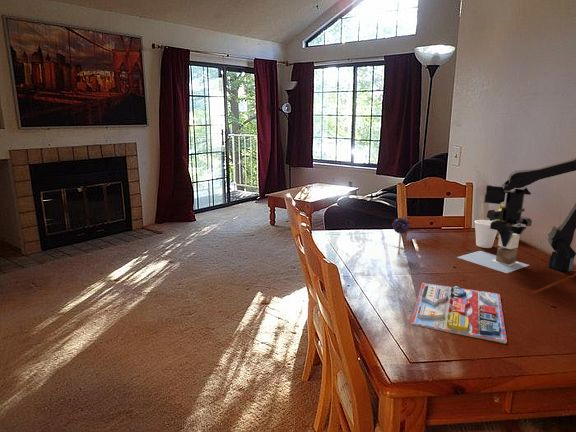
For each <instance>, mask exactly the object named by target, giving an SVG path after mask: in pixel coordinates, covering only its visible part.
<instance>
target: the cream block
mask: <svg viewBox="0 0 576 432" xmlns="http://www.w3.org/2000/svg"><path fill="white" fill-rule="evenodd" d="M520 236H521V235H520V234H516V233H513V234H512V236H511V238H510V240H509V242H508V244H507V246H506V247H504V248H508V249H517V248H519V242H520ZM497 247H499V248H500V247H503V245H502V240H501V236H500V234H499V238H498V242H497Z"/></svg>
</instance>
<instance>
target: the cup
mask: <svg viewBox="0 0 576 432" xmlns="http://www.w3.org/2000/svg"><path fill="white" fill-rule="evenodd" d="M493 221H494V220H492V221H490V220H489V219H476V220H474V229H475V245H476V246H477V247H479V248H483V249H491V248H492V247H493V245H494V242H495V239H496V238H497V237H496V234H497V230H494V229H490V224H491V223H492V222H493Z"/></svg>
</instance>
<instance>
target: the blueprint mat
mask: <svg viewBox="0 0 576 432" xmlns="http://www.w3.org/2000/svg"><path fill="white" fill-rule="evenodd" d="M496 255H497V254H494V253H493V254H492V253H490V252H487V251H486V252H485V251H482V250H477V251H474V252H471V253H467V254H463V255H460V256H457V257H456V258H458V259H460V260H464V261H467V262H469V263H472V264H477V265H480V266H483V267H486V268H489V269H492V270H495V271H498V272H502V273H505V274H509V273H512V272H514V271H517V270H520V269H522V268H526V267H528V266H530V264H527V263H524V262H520V261H517V260H516V262H515V263H512V264H509V265H508V264H505V263H502V262H498V261H496Z"/></svg>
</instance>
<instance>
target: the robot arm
mask: <svg viewBox="0 0 576 432" xmlns="http://www.w3.org/2000/svg"><path fill="white" fill-rule="evenodd" d="M575 171H576V157H573V158H571V159H569V160H565V161H561V162H558V163H553V164H549V165H546V166H542V167H538V168H535V169H534V168H533V169H520V170H514V171H512V172H510V174H509V175H508V179H507V180H506V181H504V183H503V184H502V185H492V184H486V188H485V191H484V196H483V203H484V204H495V205H496V204H497V205H501V204H502V203H504V202H505V205H504V206H505V207H503V208H502V210H501V211H498V210H497V211H496V210H494V209H490V210H489V209H488V211H487V213H486V218H488V220H490V221H493V222H492V223H491V224H490V229H494V230H497V231H498V232H499V233H500V236H501V240H502V245H503V247H506V246H507V244H508V242H509V240H510V238H511V236H512V234H513V233H516V234H520V236H522V234H523V232H524V231H525V230H526V229H527V227H532V223H533V221H532V219H531V218H530V217H526V216H522V215H523V214H522V213H524V212H525V208H523V207H524V200H525V195H529V196H530V195H532V192H530V191H529V189H528V187H527V186H529V185H532V184H534V183H535V182H537V181H539V180H544V179H547V178H551V177H556V176H559V175H563V174H567V173H572V172H575ZM496 219H499V220H500V221H499V220H498V221H496ZM524 225H525V226H524ZM575 231H576V202H575V204H574V205H573V206H572V208H571V210H570V211H569V213H568V215H567V216H566V217H565V219H564V220H563V222H562V223H561V224H560V225H559V226H558V227H557V226H555V225H553V226H552V229H551V231H550V232H549V233H547V236H548V239H547V241H548V244H549V245H550V247H551V248H552V249H553V251H552V252H551V255H550V256H549V260H548V265H547V266H548V267H547V269H550V270H554V271H558V272H561V273H565V274H566V272H568V273H570V272H573V271H574V269H573V265H574V262H575V258H576V251H575V250H574V249H573V247H572V246H571V245H572V243H573V240H574V235H575ZM564 271H565V272H564ZM569 271H570V272H569Z"/></svg>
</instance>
